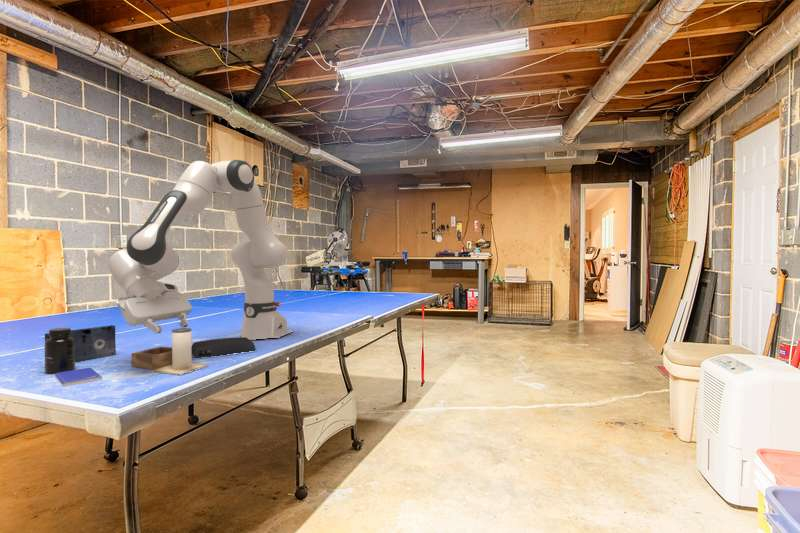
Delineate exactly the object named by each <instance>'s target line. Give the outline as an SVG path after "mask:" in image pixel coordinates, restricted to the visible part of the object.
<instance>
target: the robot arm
mask: <svg viewBox="0 0 800 533" xmlns="http://www.w3.org/2000/svg"><path fill="white" fill-rule="evenodd" d="M215 193H230V195H231V197H232V203H233V208H234V214H235V218H236V222H237V226H238V228H239V230H240V231H241V232H243V233H244V235H246V236H247V237H248V239H249V240H245V241H241V242H238V243H235V244H234V246H233V247H232V249H231V254H230V256H231V257H230V258H231V259H232V261H233V263H234V264H235V265H236V266H237V267H238V270H239V271H240V273H241V276H242V278H243V279H242V280H243V284H244V303H243V312H244V314H243V316H242V324H241V325H242V326H241V332H239V336H240V337H246V338H248V339H249V340H250V341H257V340H256V339H265V340H267V339H266V338H278V339H280V338H279V337H281V336H283V335H285V334H287V333H289V332H291V331H293V332H294V330H293V329H291V328H288V320H287V318H286V317H285V316H283V315H282V314H281V313H280V312H279V311H278V310H277V307H281V302H280V301H274V300H275V291H274V290H275V287H274V286H275V284H274V282H273V280H272V279H271V278H270V277H269V276H268V275H267V273H266V270H265V269H274V268H279V267H282V266H284V265H285V264H286V262H287V260H288V257H289V251H288V248H287V246H286V245H285V243H282V241H280V239H278V237H276V235H275V234H274V232H273V230H272V228H271V227H270V224H269V221H268V217H267V213H266V208H265V204H264V199H263V197H262V193H261V190H260V187H259V185H258V183H257V181H256V180H255V174H254V171H253V168H252V167H251V165H250V164H249V163H248V162H247V161H245V160H241V159H232V160H220V161H217V162H213V163H210V162H207V161H204V160H195V161H193V162H191V163H190V164H189V165H188V166H187V167H186V169H185V170H184V171H183V173H182V174H181V176H179V179H178V181H177V182H176V184H175V186H174V187H173V189H172V190H171V191H168V192H167V193H166V194H165V195H164V196H163V198H162V199H161V200H160V201H159V203H158V204H157V205H156V207H155V208H154V210H153V211H152V212H151V214H150V216H149V217H148V218H147V219H146V221H145V222H144V223H143V225H142V226H140V228H138V229H137V230H136V231H135V232H133V234H132V235H130V237H129V238H128V240H127V243H126V248H122V249H119V250H117V251H116V252H114V253H113V254H112V255H111V256H110V258H109V260H108V269H109V272H110V273H111V276H112V278H113V279H114V280H115V281H116V283H117V285H118V286H120V288H122V289H123V290H124V293H125V295H126V297H125V296H122V297H119V298H118V299H117V300H116V305H117V307H118V308H119V309H120V312H121V315H122V317H123V319H124V320H125V321H126V322H125V323H127V324H128V325H129V326H132V327H135V326H140V325H143V327H144V328H147V329H149V330H150V331H152V332H153V333H154V334H153V335H157V334H161V333H162V331H163V328H162V326H161V325H160V324H158V325H157V324H156V322H161V321H166V320H172V319H178V320H179V321H180V322H179V326H180V328H188V326H189V325H190V323H189V322H188V320H187V316H188V315H189V313H190V312H192V309H193V306H192V304H191V303H190V301H189V300H188V299H187V298H186V296H185V295H184V294H183V293H181V291H178V290H179V287H178V286H177V285H175V284H171V283H165V282H162V281H159V280H161V279H163V278H164V277H167V276H169V275H170V274H173V273H174V272H175V271H176V270H177V268H178V266H179V265H180V257H179V255H178V254H177V252H176V251H175V250H174V249H173V247H172V246H171V245H170V244H169V243H168V240H167V235H168V232H169V230H170V229H171V227H172V225H174V223H175V222H176V220H177V218H178V217H179V216H180V215H181V214H183V215H187V216H196V215H199V214H201V213H202V212H204V211H205V209H206V208H207V206H208V205H209V203H210V200H211V198H212V196H213V194H215ZM281 338H282V337H281Z"/></svg>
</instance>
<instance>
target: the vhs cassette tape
mask: <svg viewBox="0 0 800 533" xmlns="http://www.w3.org/2000/svg"><path fill="white" fill-rule="evenodd" d="M70 337H72V338H74V339H75V364H77V363H81V361H82V362H87V361H92V359H93V360H96V359H97V358H98V359H102V358H107V357H112V356H116V354H117V350H116V348H117V344H116V325H113V324H111V325H103V326H102V325H101V326H96V327H95V326H94V327H88V328H78V329H71V335H70ZM48 339H50V337H49V332H48V333H44V343H45V342H46V341H47V340H48ZM86 360H87V361H86ZM76 362H77V363H76Z"/></svg>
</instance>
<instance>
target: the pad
mask: <svg viewBox="0 0 800 533" xmlns="http://www.w3.org/2000/svg"><path fill="white" fill-rule="evenodd" d="M207 365H208V366H209V364H206V363H205V364H204V363H198V362H192V366H191V367H190V368H186V369H173V368H172V365H169V366H165V367H162V368H158V369H155V370H153V369H152V370H153V373H156V372H158V373H159V374H164V373H171V374H170V375H172V374H182V373H186V372H189V371H192V370H195V369H198V368H202V367H205V366H207ZM205 368H206V367H205ZM202 369H203V368H202Z"/></svg>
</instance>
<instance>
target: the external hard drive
mask: <svg viewBox="0 0 800 533" xmlns="http://www.w3.org/2000/svg"><path fill="white" fill-rule="evenodd" d="M191 348H192V357H193V356H194V357H193V359H194V358H200V359H202V358H201V357H210V358H212V357H211V356H220V355H227V354H233V353H241V352H249V351H255V350H256V349H257V348H256V345H255V343H254V342H253V340H249V339H248V338H246V337H241V336H240V337H224V338H215V339H207V340H198V341H195V342H193V343H192V344H191ZM256 351H257V350H256ZM220 357H221V356H220Z"/></svg>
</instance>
